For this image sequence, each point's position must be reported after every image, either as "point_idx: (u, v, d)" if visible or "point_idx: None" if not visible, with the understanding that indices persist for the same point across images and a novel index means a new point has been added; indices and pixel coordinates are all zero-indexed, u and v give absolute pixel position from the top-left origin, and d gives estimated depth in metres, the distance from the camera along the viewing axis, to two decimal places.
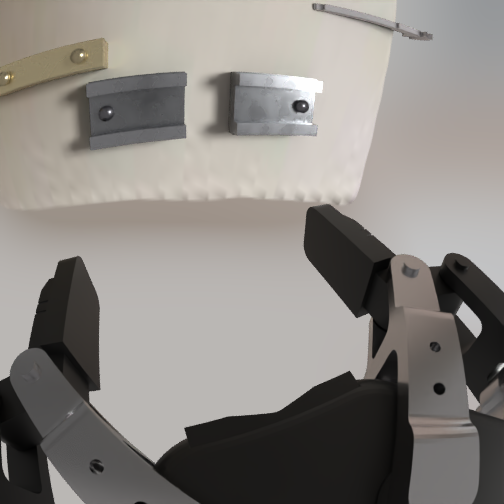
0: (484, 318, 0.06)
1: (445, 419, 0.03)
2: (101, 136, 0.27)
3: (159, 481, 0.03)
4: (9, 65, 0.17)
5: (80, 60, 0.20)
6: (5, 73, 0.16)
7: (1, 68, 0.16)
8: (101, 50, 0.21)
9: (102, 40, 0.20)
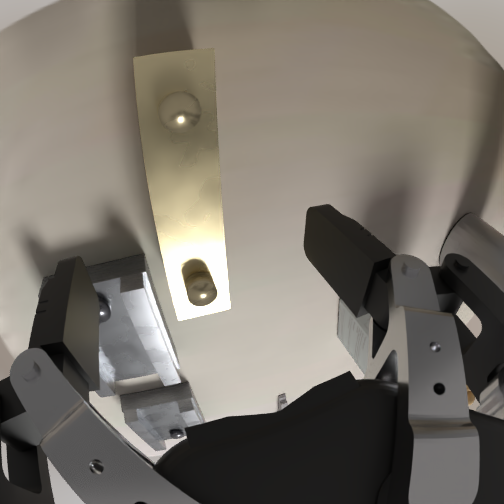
0: (484, 318, 0.06)
1: (445, 419, 0.03)
2: None
3: (159, 481, 0.03)
4: (211, 118, 0.11)
5: (192, 302, 0.15)
6: (193, 122, 0.10)
7: (211, 93, 0.10)
8: (207, 312, 0.17)
9: None
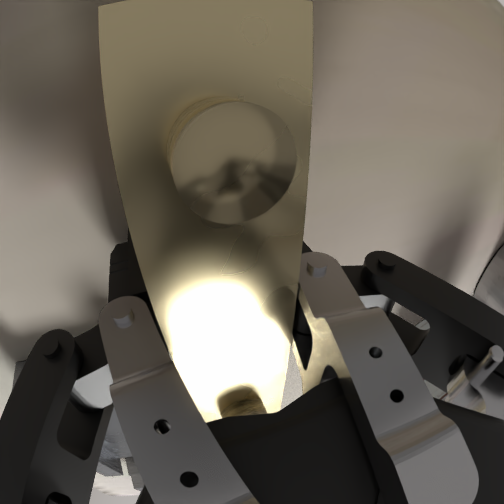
0: (430, 317, 0.06)
1: (445, 419, 0.03)
2: None
3: (159, 481, 0.03)
4: (297, 169, 0.05)
5: None
6: (273, 195, 0.04)
7: (301, 109, 0.04)
8: None
9: None
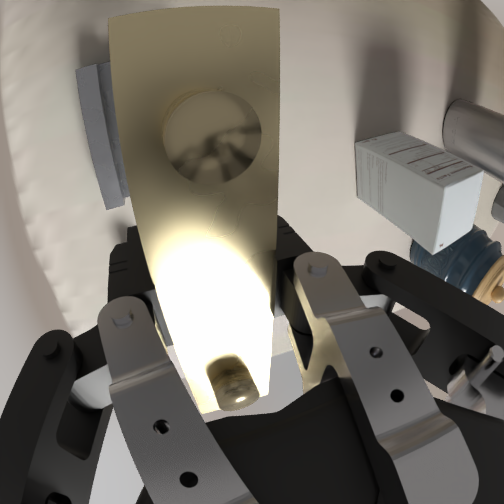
0: (431, 317, 0.06)
1: (445, 419, 0.03)
2: (96, 82, 0.15)
3: (159, 481, 0.03)
4: (269, 147, 0.06)
5: (225, 408, 0.10)
6: (243, 162, 0.05)
7: (271, 97, 0.05)
8: None
9: None
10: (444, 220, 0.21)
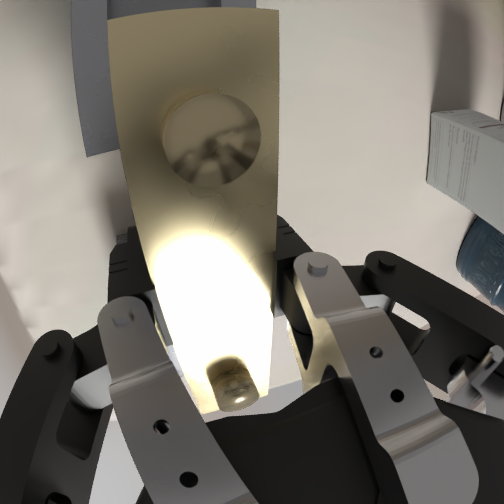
0: (431, 317, 0.06)
1: (445, 419, 0.03)
2: None
3: (159, 481, 0.03)
4: (269, 148, 0.06)
5: (224, 409, 0.10)
6: (243, 164, 0.05)
7: (270, 99, 0.05)
8: None
9: None
10: None
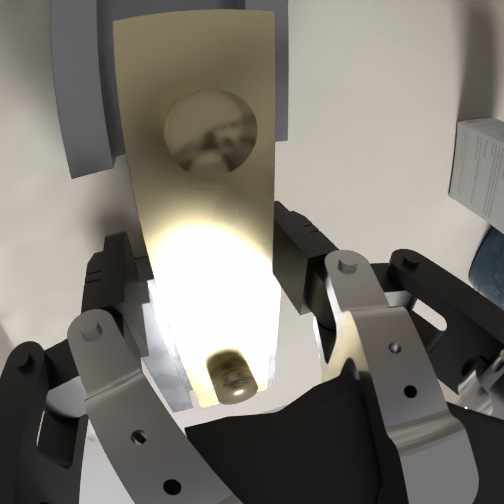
0: (448, 315, 0.06)
1: (445, 419, 0.03)
2: None
3: (159, 481, 0.03)
4: (266, 143, 0.06)
5: (224, 401, 0.10)
6: (240, 156, 0.05)
7: (267, 95, 0.06)
8: None
9: None
10: None
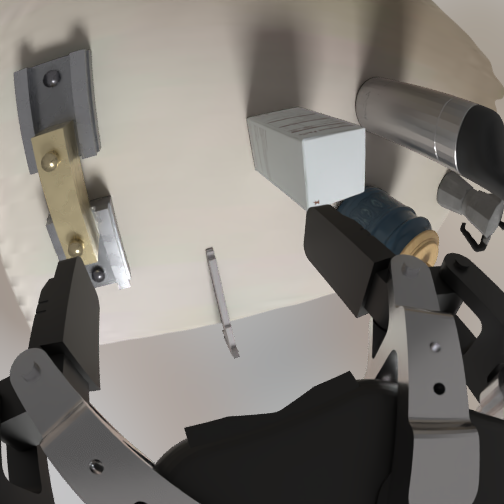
0: (484, 318, 0.06)
1: (445, 419, 0.03)
2: (26, 81, 0.17)
3: (159, 481, 0.03)
4: (66, 161, 0.21)
5: (71, 254, 0.24)
6: (55, 166, 0.19)
7: (64, 149, 0.20)
8: (85, 264, 0.27)
9: (95, 261, 0.27)
10: (311, 174, 0.25)
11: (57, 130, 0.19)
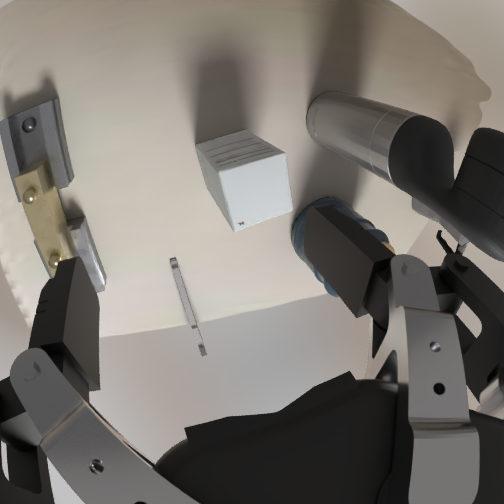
0: (484, 318, 0.06)
1: (445, 419, 0.03)
2: (8, 129, 0.22)
3: (159, 481, 0.03)
4: (42, 195, 0.26)
5: (51, 266, 0.30)
6: (33, 200, 0.25)
7: (39, 186, 0.25)
8: None
9: None
10: (231, 200, 0.29)
11: (32, 172, 0.24)
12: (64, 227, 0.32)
